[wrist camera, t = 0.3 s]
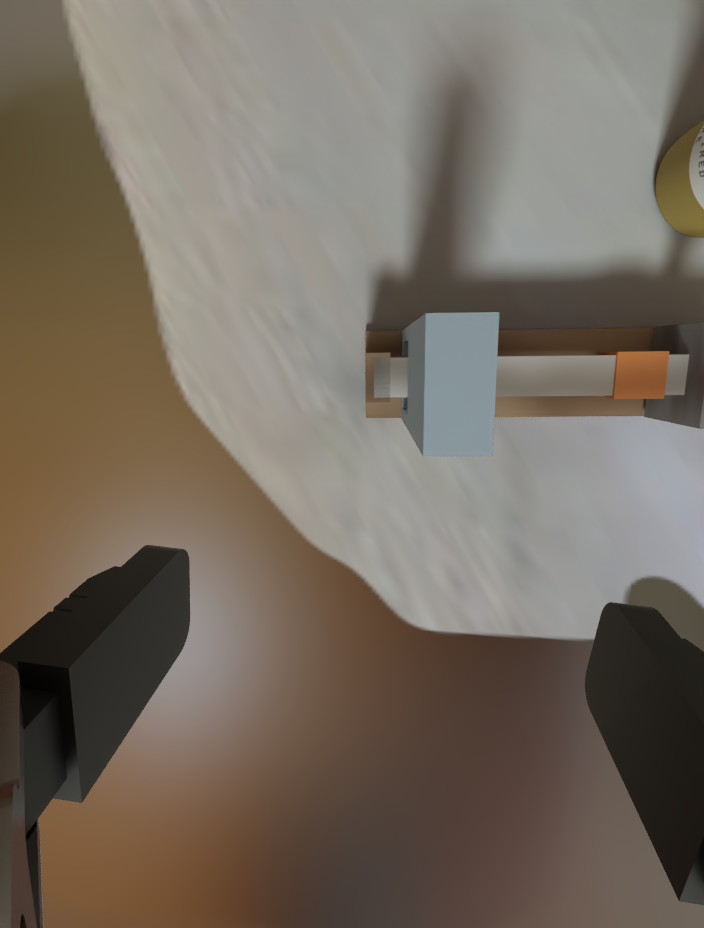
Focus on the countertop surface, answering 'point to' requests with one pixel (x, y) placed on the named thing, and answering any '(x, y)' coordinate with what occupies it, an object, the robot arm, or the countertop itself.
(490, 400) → the light blue block
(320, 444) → the countertop surface
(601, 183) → the countertop surface
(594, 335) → the rail
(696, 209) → the paper tube
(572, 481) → the countertop surface
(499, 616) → the countertop surface
